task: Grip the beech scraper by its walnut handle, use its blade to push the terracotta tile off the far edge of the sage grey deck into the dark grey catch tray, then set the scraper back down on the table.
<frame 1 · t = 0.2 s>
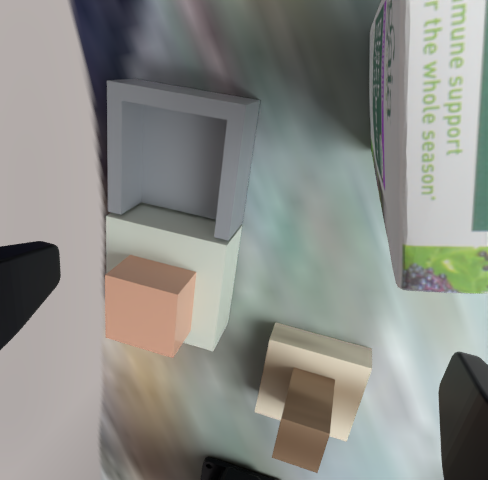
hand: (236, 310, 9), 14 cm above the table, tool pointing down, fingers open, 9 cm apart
scraper: (312, 370, 27), on the table
syrup box: (436, 83, 19), on the table
catch tray: (191, 152, 23), on the table
tile: (161, 293, 24), point 3 cm above the table, touching deck
deck: (182, 263, 26), on the table
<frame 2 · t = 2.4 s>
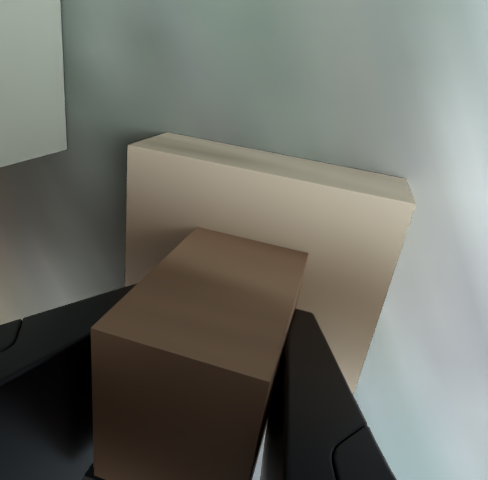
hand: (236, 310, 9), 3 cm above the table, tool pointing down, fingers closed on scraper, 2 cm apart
scraper: (261, 261, 11), on the table, touching gripper
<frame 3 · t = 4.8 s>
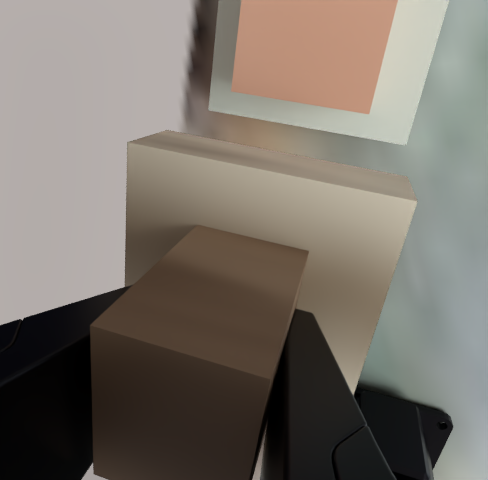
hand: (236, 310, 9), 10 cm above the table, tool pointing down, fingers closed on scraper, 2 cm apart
scraper: (261, 260, 11), point 8 cm above the table, touching gripper
tile: (320, 31, 13), point 3 cm above the table, touching deck
deck: (330, 23, 16), on the table
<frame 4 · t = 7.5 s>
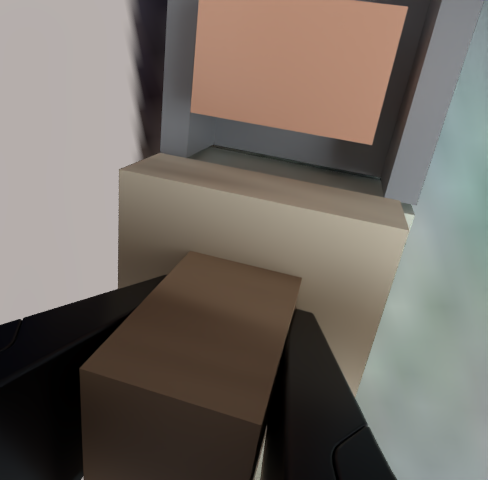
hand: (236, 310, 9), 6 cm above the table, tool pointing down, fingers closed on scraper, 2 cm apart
scraper: (255, 281, 11), point 4 cm above the table, touching gripper
catch tray: (317, 43, 12), on the table
tile: (291, 118, 11), point 2 cm above the table, tilted 90°, touching catch tray
deck: (277, 257, 15), on the table
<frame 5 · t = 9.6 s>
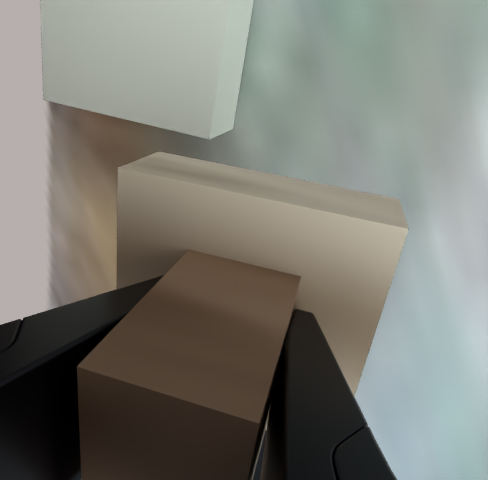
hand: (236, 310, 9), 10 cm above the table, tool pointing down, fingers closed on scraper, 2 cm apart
scraper: (254, 280, 11), point 8 cm above the table, touching gripper
deck: (165, 24, 17), on the table
when the fingers open (4 cm above the table, at t = 11.2 s): scraper drops 2 cm, on the table.
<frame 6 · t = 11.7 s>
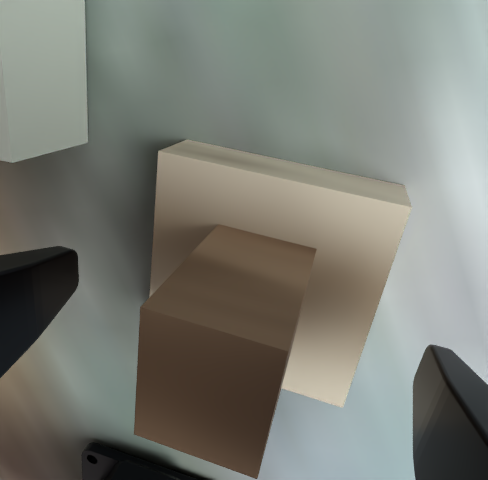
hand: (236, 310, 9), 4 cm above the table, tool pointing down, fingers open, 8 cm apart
scraper: (272, 256, 12), on the table
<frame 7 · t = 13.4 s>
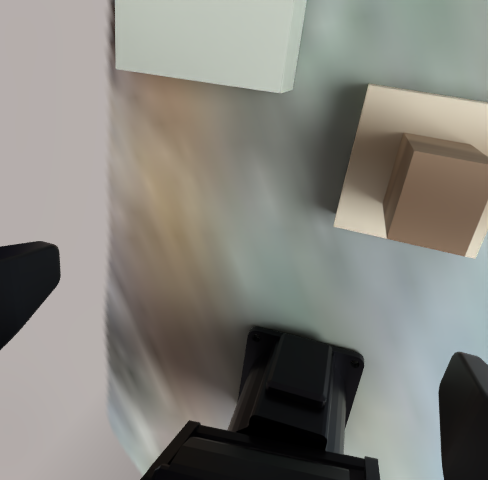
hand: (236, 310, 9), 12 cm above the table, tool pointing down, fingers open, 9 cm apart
scraper: (418, 165, 18), on the table
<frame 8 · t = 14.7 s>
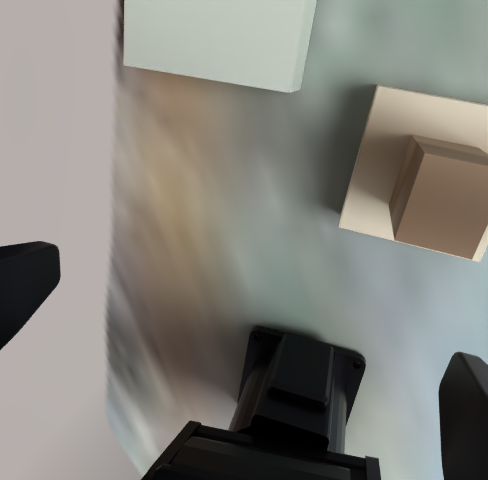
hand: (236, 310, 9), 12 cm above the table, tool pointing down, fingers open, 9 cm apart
scraper: (424, 167, 18), on the table
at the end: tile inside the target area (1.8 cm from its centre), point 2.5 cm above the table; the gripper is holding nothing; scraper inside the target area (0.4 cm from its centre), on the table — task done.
